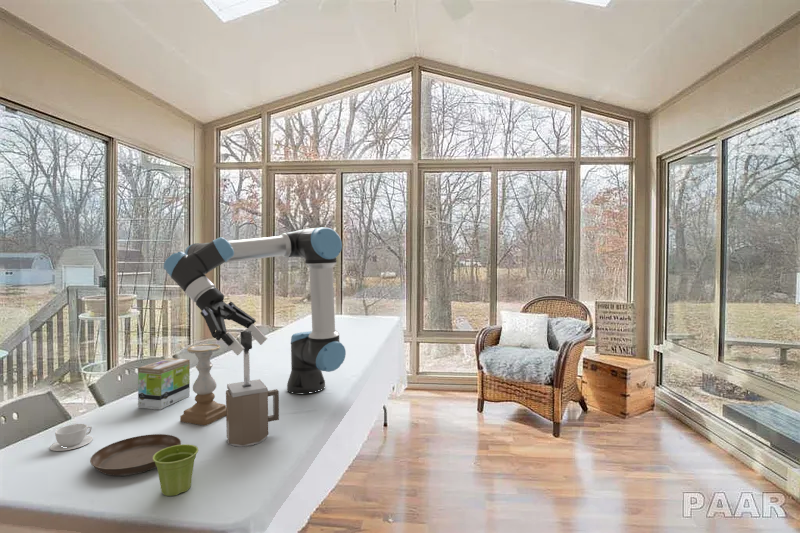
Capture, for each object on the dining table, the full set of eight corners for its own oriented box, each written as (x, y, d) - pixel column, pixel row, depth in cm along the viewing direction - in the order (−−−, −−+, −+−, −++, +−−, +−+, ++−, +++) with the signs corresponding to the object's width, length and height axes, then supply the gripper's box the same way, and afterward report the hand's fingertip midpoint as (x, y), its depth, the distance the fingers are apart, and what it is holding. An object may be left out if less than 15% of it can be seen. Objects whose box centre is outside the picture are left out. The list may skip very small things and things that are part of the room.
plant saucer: (146, 439, 128) (146, 428, 128) (198, 451, 120) (198, 439, 120) (71, 472, 109) (71, 459, 109) (126, 489, 101) (126, 475, 101)
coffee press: (273, 425, 138) (273, 376, 137) (283, 438, 128) (282, 386, 127) (224, 435, 130) (223, 383, 130) (231, 450, 121) (230, 394, 120)
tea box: (161, 410, 151) (161, 368, 150) (137, 408, 153) (136, 367, 152) (190, 396, 166) (190, 358, 165) (168, 394, 168) (167, 357, 167)
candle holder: (229, 413, 148) (228, 344, 147) (205, 425, 137) (204, 352, 136) (204, 409, 151) (203, 342, 150) (179, 421, 141) (177, 349, 140)
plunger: (258, 398, 134) (257, 328, 133) (265, 406, 126) (264, 332, 126) (229, 403, 129) (228, 330, 129) (234, 412, 122) (233, 335, 121)
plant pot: (164, 479, 105) (164, 444, 105) (204, 477, 106) (204, 443, 106) (145, 501, 96) (144, 463, 95) (189, 499, 97) (188, 461, 96)
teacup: (58, 455, 118) (58, 439, 118) (43, 447, 123) (43, 431, 123) (99, 442, 126) (99, 426, 126) (83, 434, 132) (83, 419, 131)
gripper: (221, 299, 142) (264, 345, 140) (169, 309, 117) (220, 366, 115) (236, 283, 140) (279, 330, 139) (186, 290, 116) (238, 347, 114)
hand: (253, 346), depth 127 cm, fingers open, 13 cm apart
